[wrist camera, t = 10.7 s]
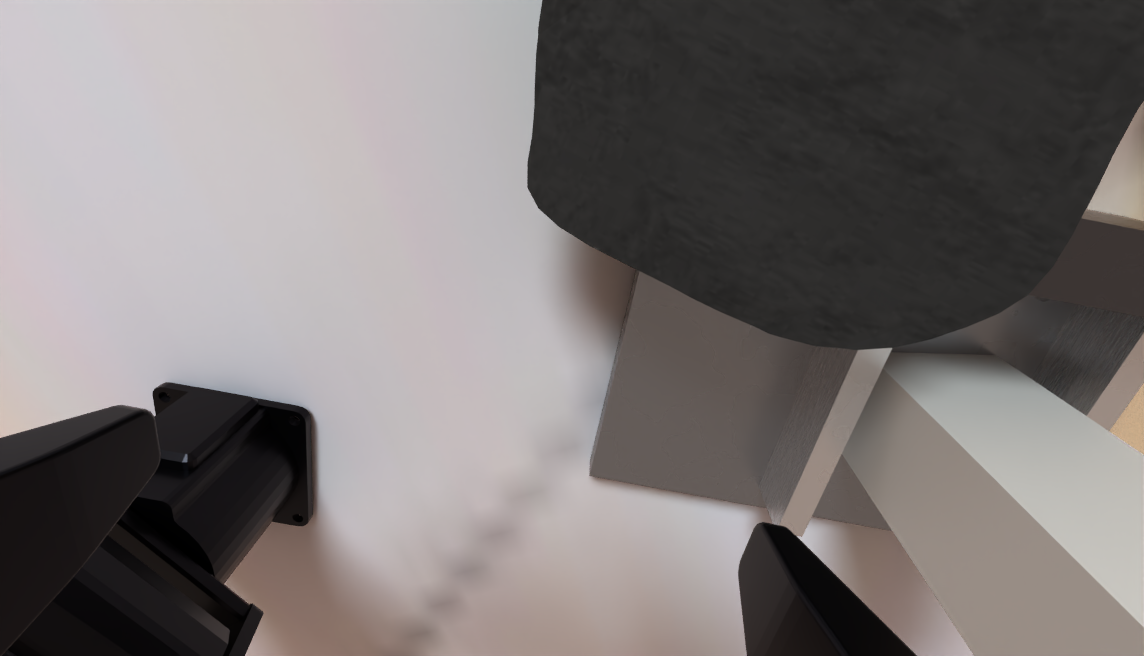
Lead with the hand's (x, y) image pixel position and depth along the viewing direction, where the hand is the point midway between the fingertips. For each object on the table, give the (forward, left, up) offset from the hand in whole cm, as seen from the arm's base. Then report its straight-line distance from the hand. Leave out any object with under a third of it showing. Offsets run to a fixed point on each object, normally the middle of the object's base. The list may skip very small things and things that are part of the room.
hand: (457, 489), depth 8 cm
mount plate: (-2, -11, -13) cm, 17 cm away
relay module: (-3, -15, -12) cm, 19 cm away
